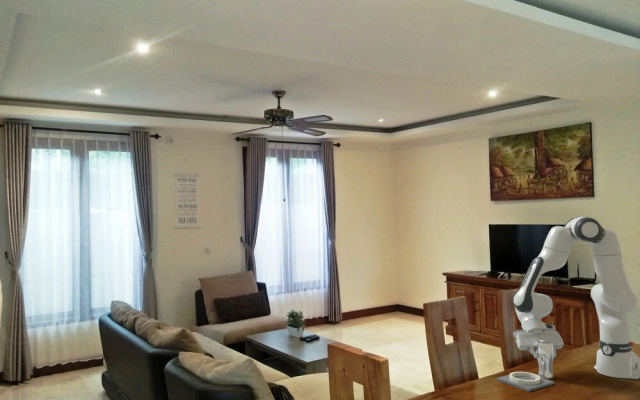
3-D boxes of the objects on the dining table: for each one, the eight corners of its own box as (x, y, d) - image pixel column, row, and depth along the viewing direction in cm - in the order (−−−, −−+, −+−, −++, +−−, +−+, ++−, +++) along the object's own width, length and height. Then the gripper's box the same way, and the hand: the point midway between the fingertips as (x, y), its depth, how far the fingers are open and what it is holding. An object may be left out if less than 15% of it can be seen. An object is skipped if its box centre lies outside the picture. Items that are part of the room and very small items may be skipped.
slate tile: (521, 373, 219) (521, 368, 220) (553, 384, 206) (553, 378, 206) (496, 380, 211) (496, 374, 211) (529, 391, 198) (528, 385, 198)
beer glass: (534, 373, 219) (533, 339, 220) (550, 373, 219) (549, 339, 219) (541, 379, 212) (539, 344, 213) (557, 378, 212) (556, 343, 212)
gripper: (514, 326, 222) (525, 354, 212) (557, 325, 224) (570, 352, 214) (509, 334, 227) (520, 362, 217) (552, 332, 228) (565, 360, 218)
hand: (546, 357), depth 215 cm, fingers closed on beer glass, 7 cm apart
